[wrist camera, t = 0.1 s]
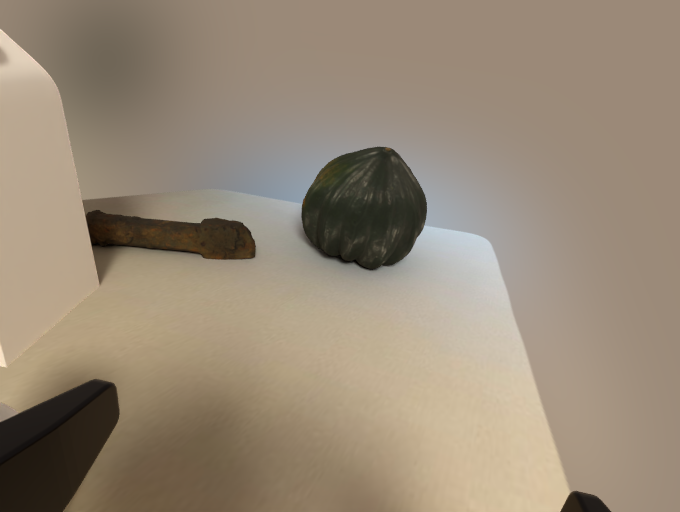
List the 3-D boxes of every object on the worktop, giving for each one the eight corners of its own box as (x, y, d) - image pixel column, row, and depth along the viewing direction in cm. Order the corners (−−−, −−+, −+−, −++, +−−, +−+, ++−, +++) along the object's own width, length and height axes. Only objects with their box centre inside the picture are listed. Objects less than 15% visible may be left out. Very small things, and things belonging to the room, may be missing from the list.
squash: (320, 183, 63) (317, 111, 49) (422, 203, 62) (448, 136, 48) (295, 272, 58) (284, 220, 44) (406, 296, 57) (431, 250, 43)
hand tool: (81, 250, 49) (75, 211, 47) (101, 235, 52) (96, 199, 50) (248, 272, 49) (249, 234, 47) (256, 256, 52) (258, 221, 50)
